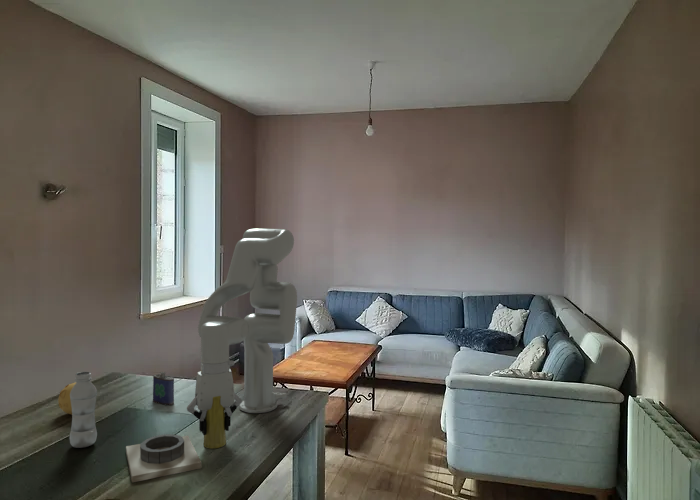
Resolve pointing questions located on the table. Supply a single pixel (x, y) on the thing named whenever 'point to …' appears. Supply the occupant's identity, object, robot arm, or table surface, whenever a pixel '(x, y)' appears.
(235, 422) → the table surface
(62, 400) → the stress ball
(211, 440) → the vase
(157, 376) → the flask
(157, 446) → the plate
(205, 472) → the table surface
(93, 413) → the plastic bottle
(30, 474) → the table surface
